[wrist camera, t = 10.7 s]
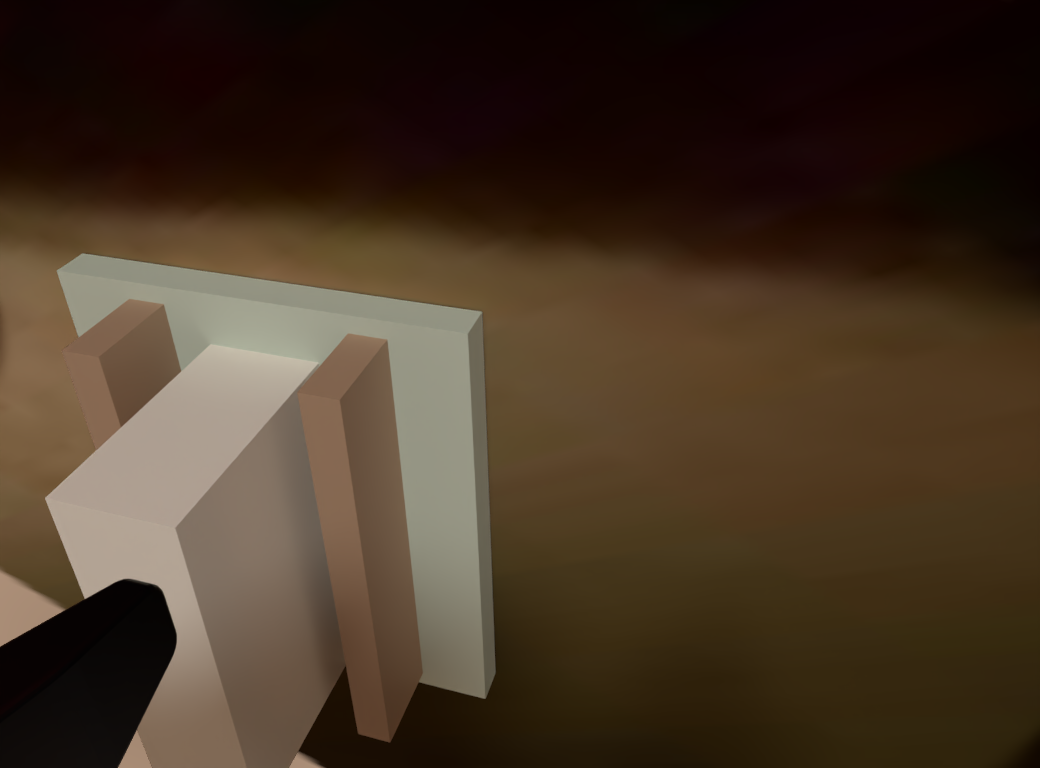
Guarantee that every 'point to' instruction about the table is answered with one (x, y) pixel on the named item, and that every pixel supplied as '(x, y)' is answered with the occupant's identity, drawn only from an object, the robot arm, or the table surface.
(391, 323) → the slotted stand
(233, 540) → the grey rectangular block
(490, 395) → the table surface
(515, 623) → the table surface
